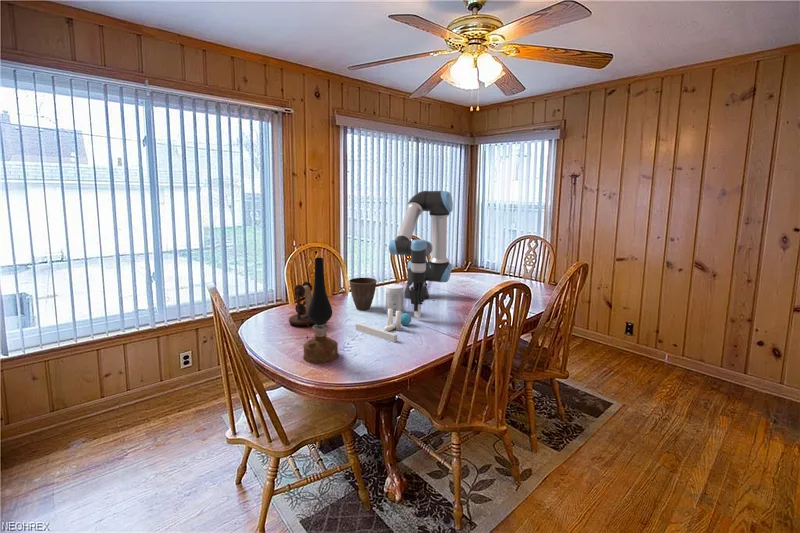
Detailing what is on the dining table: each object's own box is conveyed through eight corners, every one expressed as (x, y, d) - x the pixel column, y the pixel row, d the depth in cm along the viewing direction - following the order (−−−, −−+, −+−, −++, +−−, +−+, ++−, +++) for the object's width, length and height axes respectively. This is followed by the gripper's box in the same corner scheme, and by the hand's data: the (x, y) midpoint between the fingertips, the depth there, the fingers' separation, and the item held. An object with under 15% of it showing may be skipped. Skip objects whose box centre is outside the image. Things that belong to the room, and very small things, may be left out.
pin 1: (390, 326, 201) (390, 308, 200) (393, 327, 200) (394, 309, 198) (386, 327, 199) (386, 309, 198) (390, 328, 198) (390, 310, 196)
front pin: (397, 321, 200) (384, 326, 194) (400, 323, 199) (387, 327, 192) (396, 326, 201) (383, 330, 195) (400, 328, 200) (387, 332, 193)
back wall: (359, 328, 197) (359, 322, 197) (397, 341, 182) (397, 334, 181) (355, 329, 196) (355, 323, 195) (394, 342, 180) (394, 335, 180)
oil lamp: (339, 358, 171) (352, 261, 171) (335, 367, 156) (349, 261, 156) (305, 354, 171) (318, 257, 171) (298, 362, 155) (312, 256, 155)
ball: (394, 320, 202) (400, 326, 206) (404, 322, 198) (410, 328, 202) (400, 309, 204) (406, 315, 208) (409, 311, 200) (415, 318, 204)
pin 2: (397, 328, 198) (398, 310, 196) (401, 329, 196) (402, 311, 195) (394, 330, 196) (394, 311, 195) (398, 331, 195) (398, 312, 193)
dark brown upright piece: (309, 329, 196) (308, 287, 192) (282, 325, 200) (281, 285, 197) (325, 320, 209) (324, 281, 206) (299, 317, 214) (298, 278, 210)
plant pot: (375, 312, 223) (375, 283, 220) (347, 312, 223) (347, 283, 220) (377, 305, 238) (377, 277, 235) (351, 304, 238) (351, 277, 235)
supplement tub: (396, 309, 230) (396, 283, 227) (407, 313, 223) (407, 286, 220) (382, 312, 224) (382, 285, 221) (393, 316, 217) (393, 289, 214)
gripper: (420, 268, 214) (419, 312, 218) (403, 271, 204) (403, 318, 208) (432, 270, 209) (430, 315, 213) (415, 273, 199) (414, 321, 203)
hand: (417, 316), depth 211 cm, fingers closed
